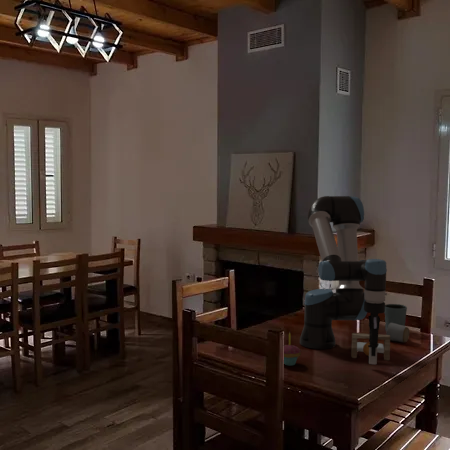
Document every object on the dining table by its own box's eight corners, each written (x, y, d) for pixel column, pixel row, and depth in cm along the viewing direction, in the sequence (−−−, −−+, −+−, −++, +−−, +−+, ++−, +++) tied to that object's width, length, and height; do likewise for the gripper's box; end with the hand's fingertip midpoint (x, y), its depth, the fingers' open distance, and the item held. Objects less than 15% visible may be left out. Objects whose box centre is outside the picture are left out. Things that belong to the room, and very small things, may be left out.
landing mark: (352, 351, 224) (352, 350, 224) (351, 342, 237) (351, 341, 237) (385, 353, 221) (385, 352, 221) (382, 344, 234) (382, 343, 234)
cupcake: (277, 359, 211) (278, 329, 211) (299, 360, 211) (300, 330, 210) (279, 367, 203) (279, 335, 202) (301, 367, 203) (302, 336, 202)
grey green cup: (410, 332, 254) (411, 307, 253) (396, 335, 249) (396, 309, 248) (393, 327, 263) (393, 302, 262) (378, 330, 257) (379, 305, 256)
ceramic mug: (404, 344, 234) (405, 327, 233) (385, 341, 239) (386, 324, 238) (412, 339, 242) (412, 322, 242) (394, 336, 247) (394, 319, 247)
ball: (363, 357, 215) (363, 343, 215) (362, 353, 221) (362, 340, 220) (377, 358, 214) (378, 344, 214) (376, 354, 220) (376, 341, 219)
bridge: (389, 360, 212) (390, 337, 212) (351, 357, 215) (352, 334, 215) (388, 357, 215) (389, 335, 215) (351, 355, 218) (351, 332, 217)
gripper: (386, 305, 194) (384, 370, 195) (383, 298, 206) (381, 358, 208) (365, 304, 195) (363, 368, 197) (363, 297, 208) (361, 357, 210)
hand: (372, 363), depth 202 cm, fingers closed
